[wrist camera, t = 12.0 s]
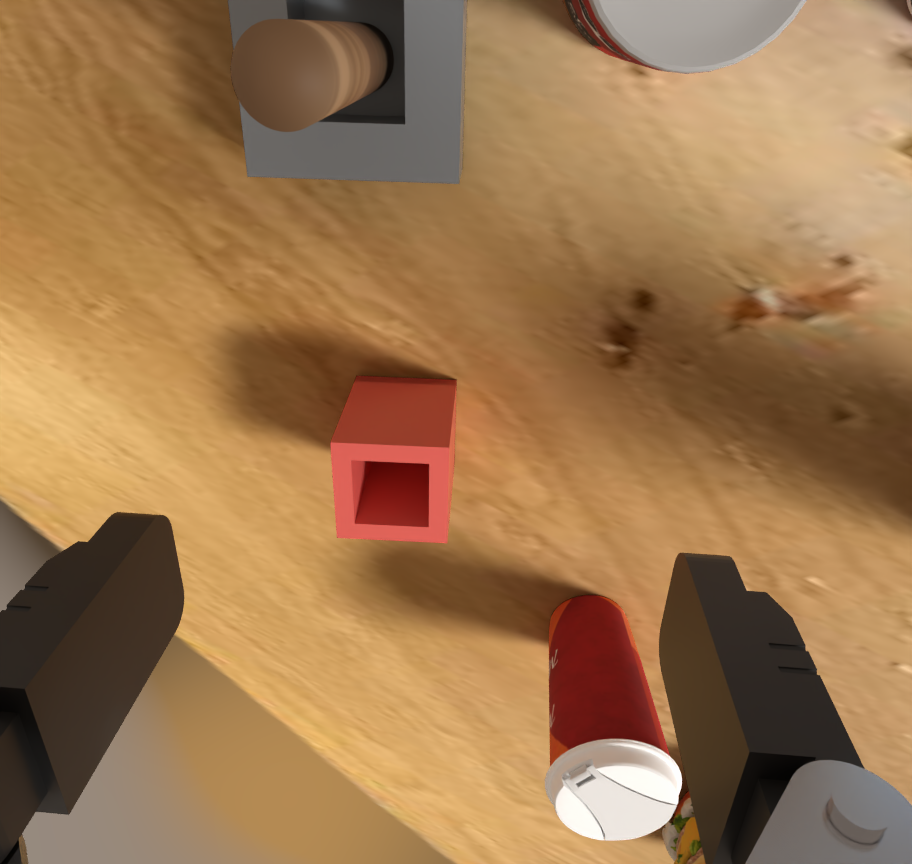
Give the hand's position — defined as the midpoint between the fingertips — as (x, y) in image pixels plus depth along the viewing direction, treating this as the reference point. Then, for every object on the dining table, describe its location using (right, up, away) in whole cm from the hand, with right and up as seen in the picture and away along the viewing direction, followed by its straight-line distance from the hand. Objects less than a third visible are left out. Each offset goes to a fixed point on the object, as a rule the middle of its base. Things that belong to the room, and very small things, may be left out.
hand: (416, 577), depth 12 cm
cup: (-2, +3, +33) cm, 34 cm away
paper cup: (+10, -11, +41) cm, 44 cm away
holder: (-4, +21, +24) cm, 31 cm away
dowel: (-4, +20, +23) cm, 31 cm away
